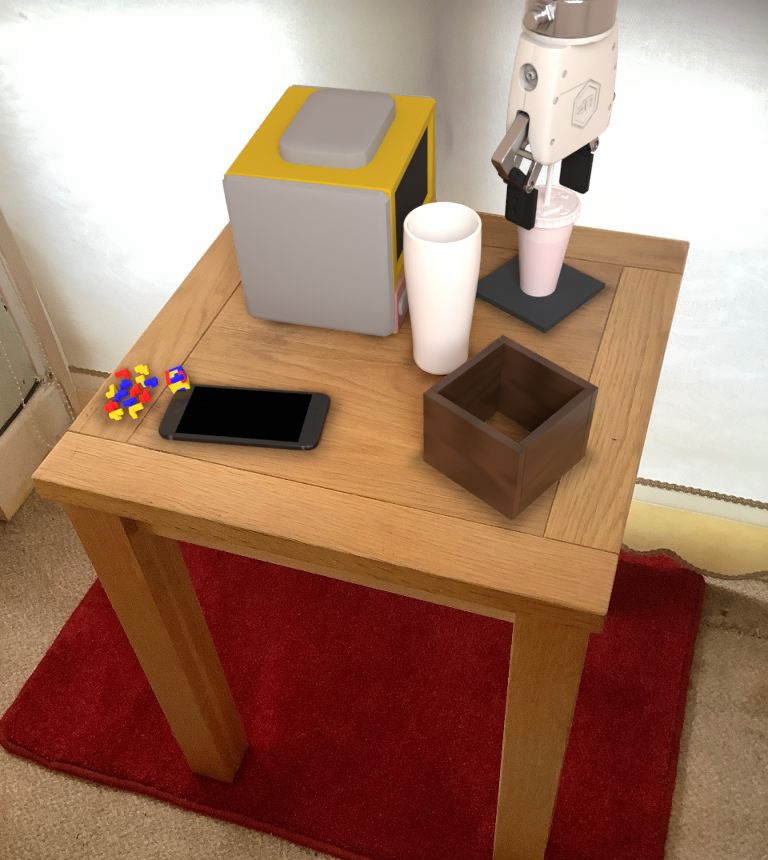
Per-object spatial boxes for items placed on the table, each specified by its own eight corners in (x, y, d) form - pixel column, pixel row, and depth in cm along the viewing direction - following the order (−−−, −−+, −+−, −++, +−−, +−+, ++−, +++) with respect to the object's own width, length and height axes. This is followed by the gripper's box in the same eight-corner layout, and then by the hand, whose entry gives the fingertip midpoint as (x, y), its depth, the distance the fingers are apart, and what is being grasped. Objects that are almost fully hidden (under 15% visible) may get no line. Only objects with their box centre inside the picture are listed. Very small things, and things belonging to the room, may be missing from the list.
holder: (585, 456, 76) (599, 387, 70) (512, 520, 72) (519, 453, 65) (497, 402, 81) (502, 334, 74) (423, 460, 76) (422, 392, 70)
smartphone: (179, 386, 84) (177, 379, 83) (333, 397, 82) (332, 390, 81) (156, 441, 79) (153, 434, 78) (317, 455, 77) (316, 448, 76)
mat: (604, 288, 91) (605, 283, 91) (545, 333, 87) (545, 328, 86) (529, 251, 96) (529, 247, 95) (469, 292, 92) (469, 288, 91)
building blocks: (105, 422, 80) (114, 434, 81) (185, 391, 80) (193, 403, 81) (101, 377, 84) (110, 389, 85) (177, 347, 84) (185, 359, 85)
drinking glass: (399, 378, 83) (394, 240, 72) (414, 333, 88) (412, 197, 76) (468, 387, 82) (475, 249, 71) (480, 342, 86) (488, 204, 75)
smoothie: (501, 299, 90) (511, 171, 79) (513, 264, 93) (524, 137, 83) (563, 308, 88) (582, 180, 77) (573, 272, 92) (592, 145, 81)
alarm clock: (398, 357, 85) (392, 182, 71) (247, 335, 88) (213, 163, 74) (442, 245, 97) (444, 77, 83) (307, 230, 100) (288, 64, 86)
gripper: (538, 56, 65) (519, 260, 78) (669, -14, 72) (632, 183, 86) (463, 30, 68) (457, 229, 82) (595, -34, 76) (570, 158, 89)
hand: (546, 204), depth 84 cm, fingers open, 7 cm apart
